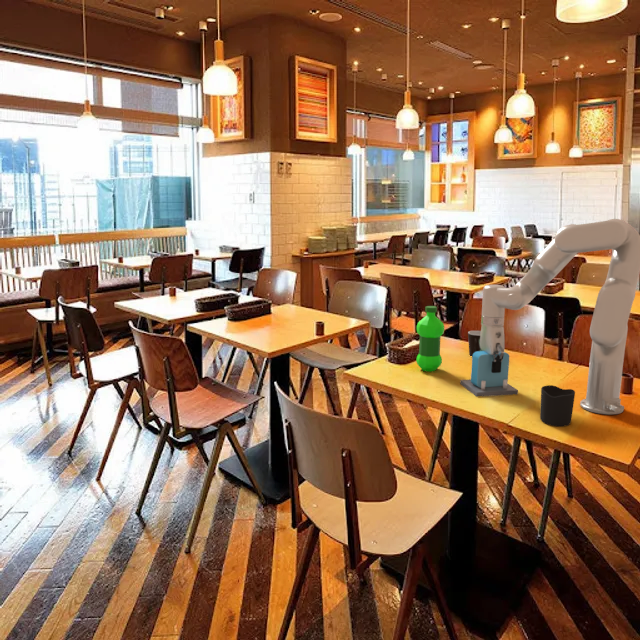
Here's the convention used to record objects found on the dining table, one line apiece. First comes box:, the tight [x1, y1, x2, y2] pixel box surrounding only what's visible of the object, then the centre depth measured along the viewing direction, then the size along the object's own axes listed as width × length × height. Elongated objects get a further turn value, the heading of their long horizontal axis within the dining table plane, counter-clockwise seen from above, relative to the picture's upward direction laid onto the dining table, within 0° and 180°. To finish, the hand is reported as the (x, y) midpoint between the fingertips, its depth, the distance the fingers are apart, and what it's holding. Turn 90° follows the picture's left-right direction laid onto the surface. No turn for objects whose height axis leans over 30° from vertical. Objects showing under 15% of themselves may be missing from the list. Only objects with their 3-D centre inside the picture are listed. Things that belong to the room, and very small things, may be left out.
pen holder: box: [539, 384, 576, 428], centre depth 179 cm, size 9×9×10 cm
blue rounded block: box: [470, 351, 510, 388], centre depth 208 cm, size 12×4×12 cm, turn 104°
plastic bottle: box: [415, 305, 445, 373], centre depth 230 cm, size 10×10×25 cm
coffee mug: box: [467, 330, 481, 357], centre depth 250 cm, size 12×9×10 cm
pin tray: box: [459, 379, 519, 398], centre depth 209 cm, size 14×15×4 cm
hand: (489, 368), depth 208 cm, fingers open, 9 cm apart
